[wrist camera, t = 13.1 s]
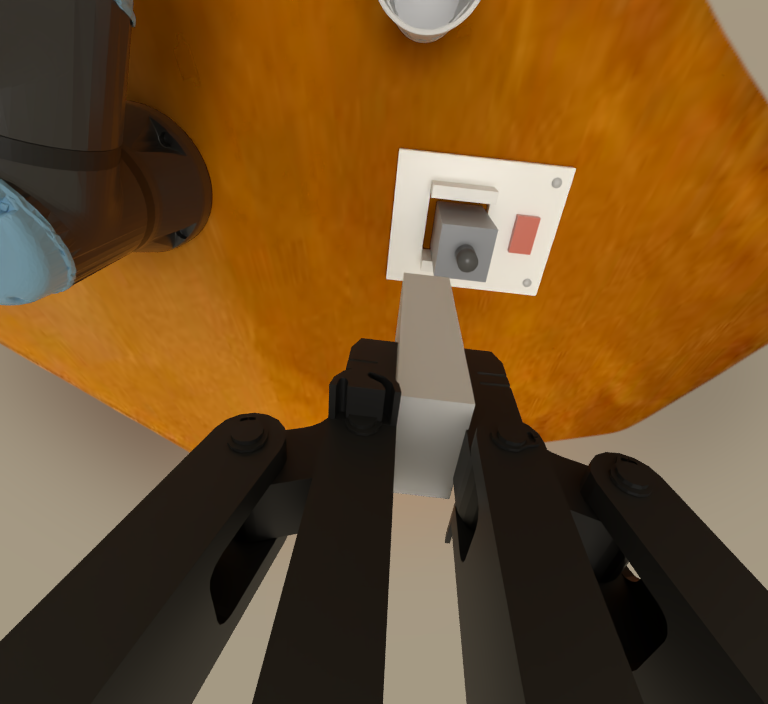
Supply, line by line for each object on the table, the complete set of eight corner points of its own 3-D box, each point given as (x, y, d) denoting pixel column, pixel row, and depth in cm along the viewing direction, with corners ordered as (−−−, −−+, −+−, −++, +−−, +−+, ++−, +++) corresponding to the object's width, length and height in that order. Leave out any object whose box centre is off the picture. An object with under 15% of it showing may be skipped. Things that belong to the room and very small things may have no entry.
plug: (430, 245, 47) (434, 286, 37) (436, 200, 44) (444, 230, 34) (472, 250, 47) (489, 292, 37) (482, 205, 44) (503, 237, 34)
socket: (386, 275, 49) (384, 288, 46) (399, 147, 42) (398, 151, 38) (533, 291, 49) (542, 306, 46) (572, 167, 42) (586, 172, 38)
